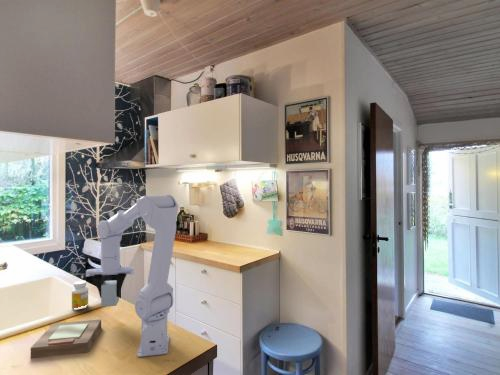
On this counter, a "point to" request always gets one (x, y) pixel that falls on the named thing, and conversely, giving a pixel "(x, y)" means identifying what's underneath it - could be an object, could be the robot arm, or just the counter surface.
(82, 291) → the supplement bottle
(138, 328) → the counter surface
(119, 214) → the robot arm
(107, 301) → the slate block
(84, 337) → the walnut stand
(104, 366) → the counter surface
